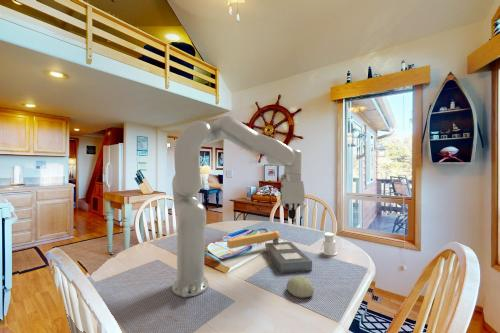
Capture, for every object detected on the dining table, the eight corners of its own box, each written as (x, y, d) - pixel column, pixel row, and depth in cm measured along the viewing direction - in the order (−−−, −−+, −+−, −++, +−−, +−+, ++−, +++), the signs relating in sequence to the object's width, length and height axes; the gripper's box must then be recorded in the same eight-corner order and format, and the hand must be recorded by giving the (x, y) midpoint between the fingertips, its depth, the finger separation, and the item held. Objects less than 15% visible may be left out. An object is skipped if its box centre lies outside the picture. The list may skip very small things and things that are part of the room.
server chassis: (311, 270, 94) (312, 259, 94) (280, 273, 91) (281, 262, 91) (286, 245, 123) (286, 237, 123) (262, 247, 120) (262, 238, 120)
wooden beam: (230, 249, 104) (230, 241, 104) (226, 246, 107) (226, 239, 107) (280, 238, 120) (280, 232, 120) (276, 236, 123) (276, 230, 123)
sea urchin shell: (292, 276, 85) (306, 266, 82) (305, 296, 82) (320, 287, 78) (280, 286, 78) (294, 275, 74) (293, 308, 75) (310, 299, 71)
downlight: (335, 250, 117) (335, 231, 117) (339, 256, 110) (339, 236, 110) (320, 250, 117) (319, 231, 117) (323, 256, 110) (322, 236, 110)
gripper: (279, 177, 93) (278, 221, 94) (311, 178, 96) (311, 219, 97) (273, 176, 101) (273, 216, 101) (304, 177, 104) (303, 215, 104)
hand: (291, 218), depth 99 cm, fingers closed
